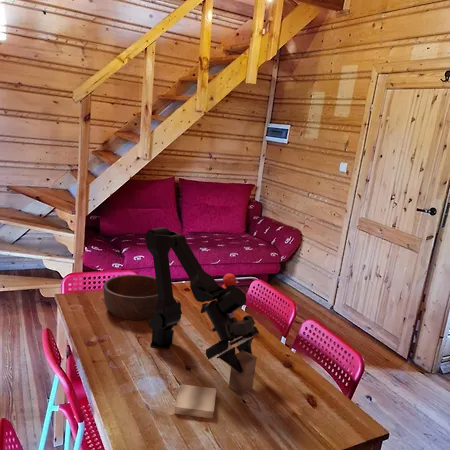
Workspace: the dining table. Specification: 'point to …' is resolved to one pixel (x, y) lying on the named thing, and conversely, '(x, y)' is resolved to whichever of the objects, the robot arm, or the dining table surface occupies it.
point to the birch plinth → (195, 401)
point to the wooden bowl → (131, 296)
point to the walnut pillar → (243, 373)
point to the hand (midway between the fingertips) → (247, 369)
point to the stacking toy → (227, 281)
